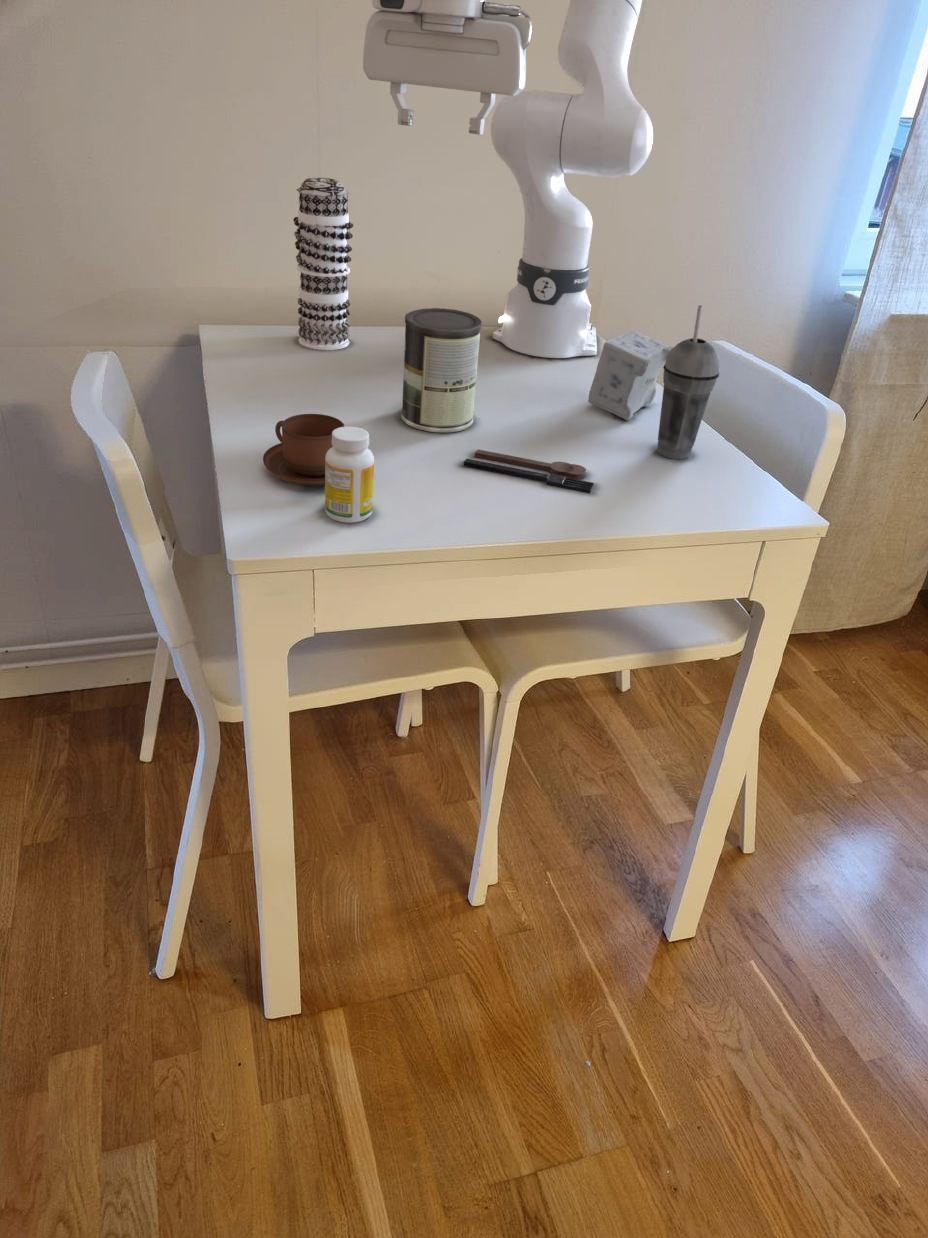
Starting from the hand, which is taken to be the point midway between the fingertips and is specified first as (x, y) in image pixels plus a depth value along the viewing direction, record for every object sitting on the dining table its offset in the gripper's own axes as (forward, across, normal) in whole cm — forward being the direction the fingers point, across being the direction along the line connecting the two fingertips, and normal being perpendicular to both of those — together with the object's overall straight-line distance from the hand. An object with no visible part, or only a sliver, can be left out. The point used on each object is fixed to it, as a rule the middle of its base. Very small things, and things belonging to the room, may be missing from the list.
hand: (440, 129), depth 118 cm
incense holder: (+36, -28, -12) cm, 47 cm away
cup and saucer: (+36, +4, +29) cm, 47 cm away
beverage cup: (+36, -37, +2) cm, 52 cm away
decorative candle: (+36, +24, -19) cm, 47 cm away
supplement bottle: (+36, -4, +38) cm, 52 cm away
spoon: (+36, -20, +15) cm, 44 cm away
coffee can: (+36, -4, +6) cm, 37 cm away
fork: (+36, -20, +19) cm, 45 cm away
